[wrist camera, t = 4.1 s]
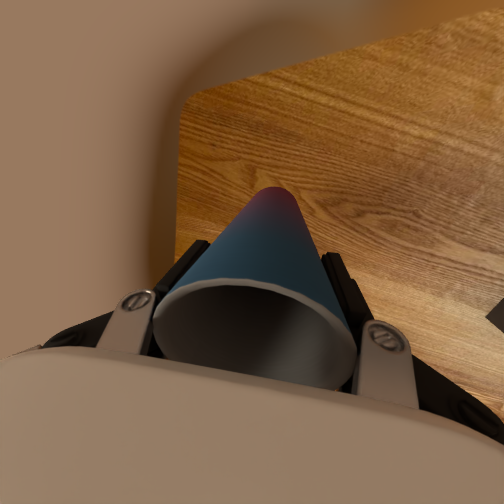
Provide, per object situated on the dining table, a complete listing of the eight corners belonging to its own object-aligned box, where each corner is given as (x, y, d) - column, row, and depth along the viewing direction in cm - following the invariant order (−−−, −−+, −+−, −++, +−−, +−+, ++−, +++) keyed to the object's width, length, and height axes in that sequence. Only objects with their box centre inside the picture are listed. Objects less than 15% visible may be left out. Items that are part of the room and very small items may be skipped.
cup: (287, 161, 16) (292, 232, 4) (318, 223, 19) (387, 395, 6) (228, 200, 19) (112, 319, 6) (262, 250, 21) (228, 407, 9)
